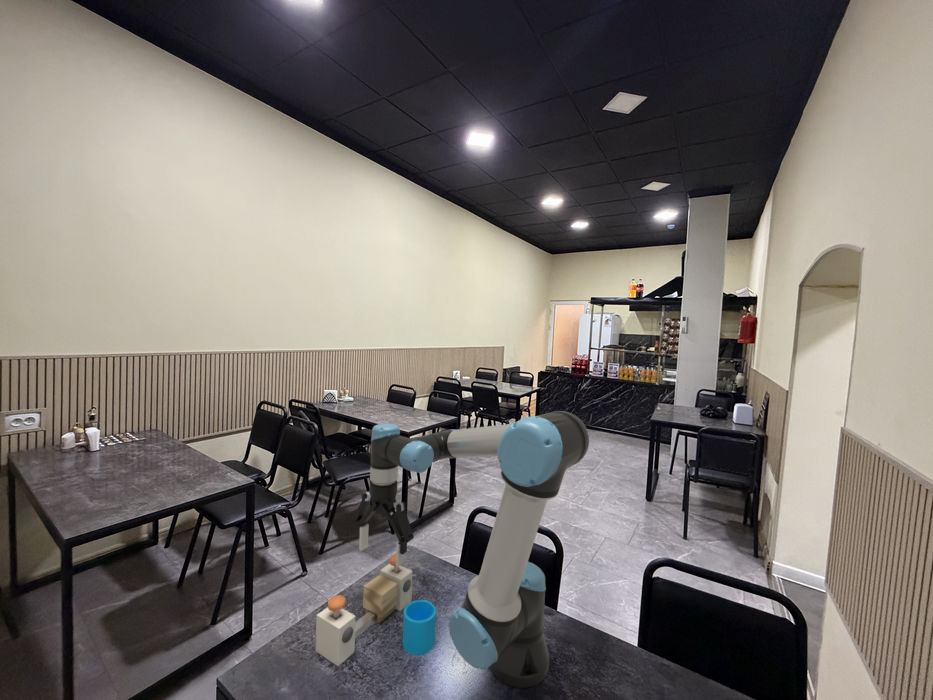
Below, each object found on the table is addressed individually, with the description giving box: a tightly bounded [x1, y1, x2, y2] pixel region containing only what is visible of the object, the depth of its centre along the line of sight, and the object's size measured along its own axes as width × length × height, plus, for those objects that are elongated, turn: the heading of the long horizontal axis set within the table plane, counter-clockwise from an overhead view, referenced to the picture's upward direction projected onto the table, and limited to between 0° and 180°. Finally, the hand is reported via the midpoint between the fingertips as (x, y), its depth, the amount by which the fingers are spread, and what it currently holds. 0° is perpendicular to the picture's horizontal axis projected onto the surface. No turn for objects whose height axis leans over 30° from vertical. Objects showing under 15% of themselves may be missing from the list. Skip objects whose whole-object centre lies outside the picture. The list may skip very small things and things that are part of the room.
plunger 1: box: [327, 594, 346, 620], centre depth 94 cm, size 4×4×5 cm
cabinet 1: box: [315, 606, 357, 667], centre depth 94 cm, size 8×5×9 cm, turn 59°
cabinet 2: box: [379, 563, 413, 612], centre depth 113 cm, size 8×5×9 cm, turn 59°
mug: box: [402, 599, 437, 656], centre depth 100 cm, size 12×8×8 cm
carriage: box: [362, 574, 397, 624], centre depth 107 cm, size 7×6×8 cm
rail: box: [355, 611, 377, 640], centre depth 103 cm, size 2×17×2 cm, turn 149°
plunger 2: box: [389, 554, 403, 574], centre depth 112 cm, size 4×4×5 cm
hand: (381, 556), depth 107 cm, fingers open, 13 cm apart
